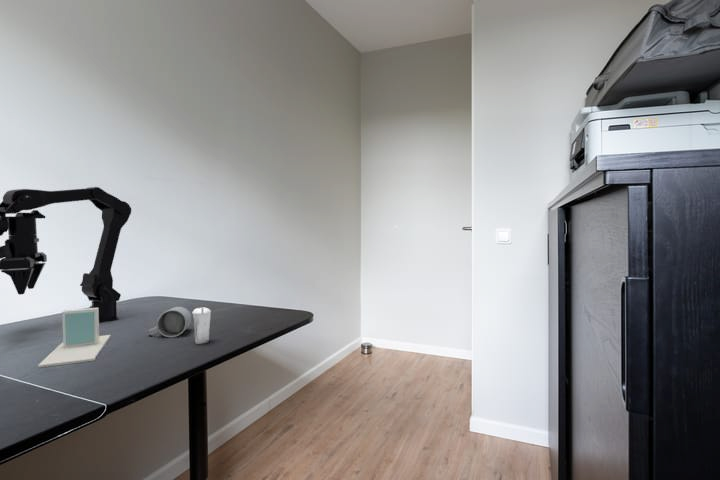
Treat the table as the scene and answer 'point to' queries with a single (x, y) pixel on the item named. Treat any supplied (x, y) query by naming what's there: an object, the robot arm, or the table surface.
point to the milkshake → (201, 324)
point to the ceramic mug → (172, 322)
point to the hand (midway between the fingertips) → (26, 291)
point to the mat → (74, 353)
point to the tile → (80, 327)
